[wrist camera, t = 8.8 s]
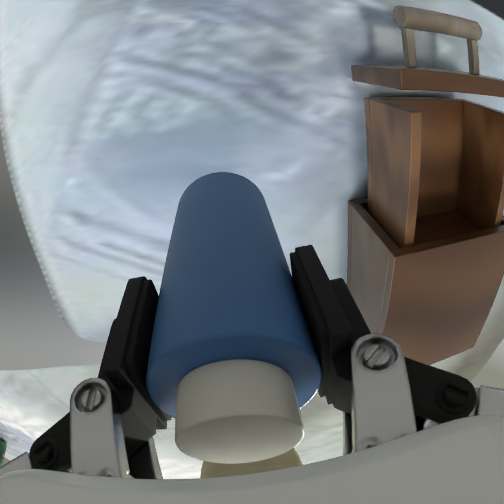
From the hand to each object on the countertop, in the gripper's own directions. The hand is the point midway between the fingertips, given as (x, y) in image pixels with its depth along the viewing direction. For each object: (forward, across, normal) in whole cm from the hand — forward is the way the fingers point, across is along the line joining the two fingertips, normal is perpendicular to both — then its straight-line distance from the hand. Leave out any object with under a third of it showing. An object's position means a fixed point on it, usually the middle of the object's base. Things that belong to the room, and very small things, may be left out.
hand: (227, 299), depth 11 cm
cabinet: (+15, -16, +12) cm, 25 cm away
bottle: (+7, 0, 0) cm, 7 cm away
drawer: (+14, -16, -2) cm, 21 cm away
